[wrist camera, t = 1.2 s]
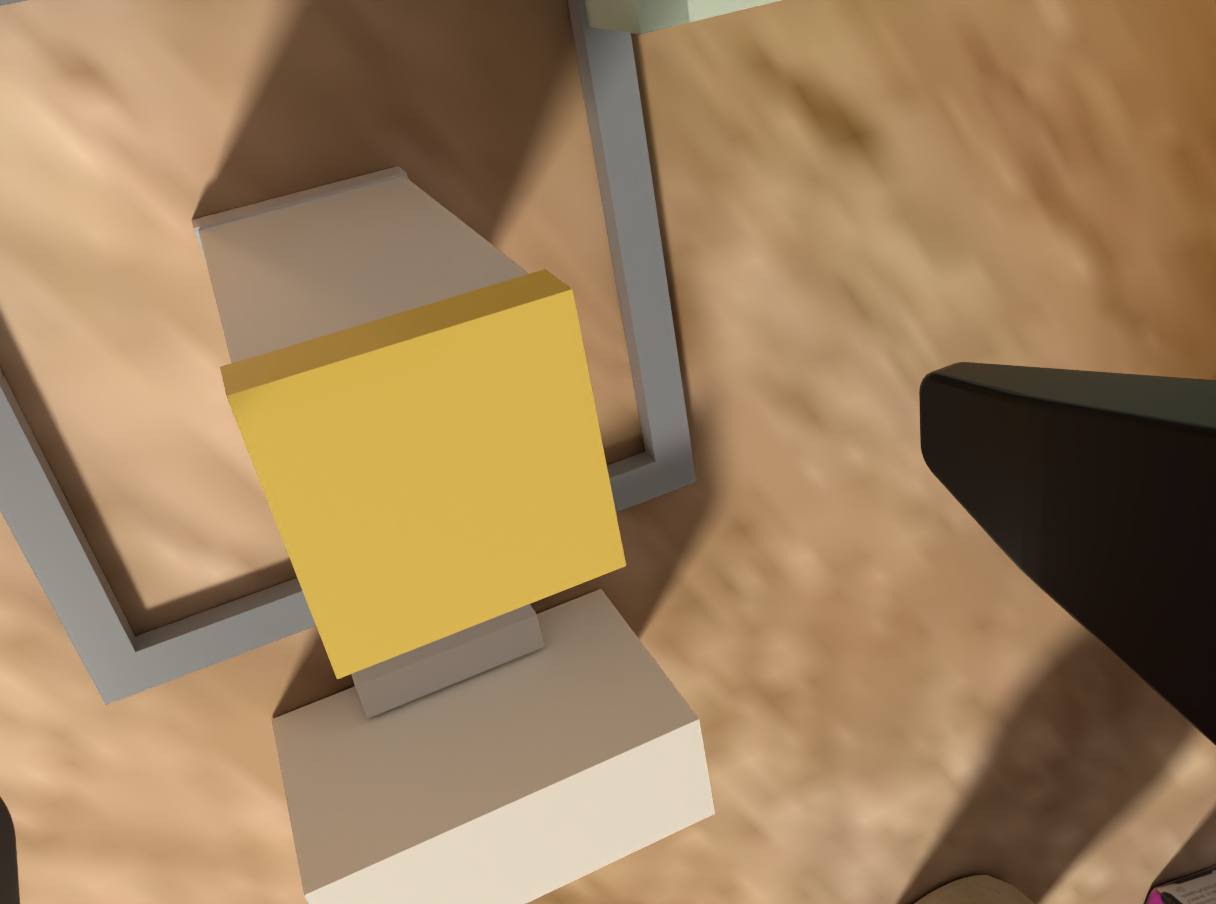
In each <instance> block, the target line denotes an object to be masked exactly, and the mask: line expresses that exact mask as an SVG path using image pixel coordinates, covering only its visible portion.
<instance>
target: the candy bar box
mask: <svg viewBox="0 0 1216 904" xmlns="http://www.w3.org/2000/svg"><path fill="white" fill-rule="evenodd" d="M1146 904H1216V865H1214V866H1211V867H1209V868H1207V869H1205V870H1202V871H1199V872H1196V873H1194V874H1191V875H1189V876H1186V877H1184V878H1181V879H1177V880H1174V881H1171V882H1168V883H1166V884H1163V885H1160V886H1158V887H1155V888H1154V889H1153V890H1152V891H1151V892H1150V894H1149V896H1148V898H1147V901H1146Z"/></svg>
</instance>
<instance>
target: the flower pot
mask: <svg viewBox="0 0 1216 904" xmlns="http://www.w3.org/2000/svg"><path fill="white" fill-rule="evenodd" d="M914 904H1035V903H1033V902H1032V901H1031V900H1030V899H1029V898H1027V897H1026V896H1025V895H1024V894H1023V893H1022V892H1021V891H1020V890H1018V889H1017V888H1016V887H1014V886H1013V885H1011V884H1009V883H1006V882H1004V881H1002V880H999V879H996V878H993V877H991V876H988V875H974V876H970V877H965V878H962V879H959V880H955V881H953V882H951V883H948V884H946V885H944V886H942V887H940V888H938V889H936V890H934V891H932V892H931V893H929V894H927V895H926V896H924V897H923V898H921V899H920V900H918V901H917V902H916V903H914Z"/></svg>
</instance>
